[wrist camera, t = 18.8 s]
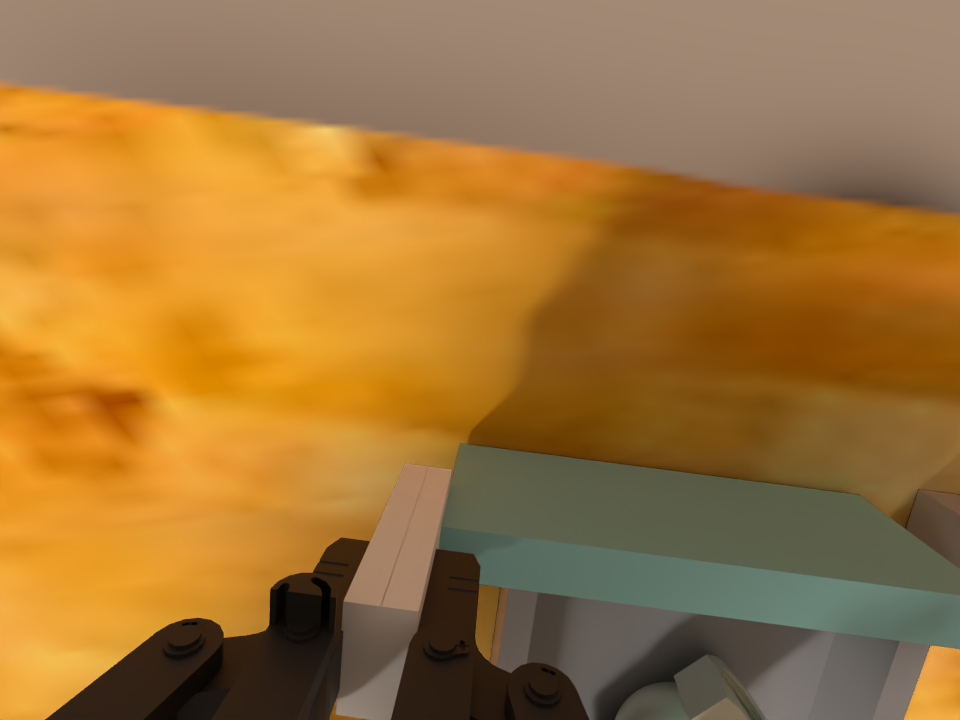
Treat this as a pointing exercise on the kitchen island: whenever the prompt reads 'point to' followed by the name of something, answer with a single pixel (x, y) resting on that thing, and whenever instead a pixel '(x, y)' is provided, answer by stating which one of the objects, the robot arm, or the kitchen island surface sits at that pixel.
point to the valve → (694, 696)
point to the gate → (698, 545)
